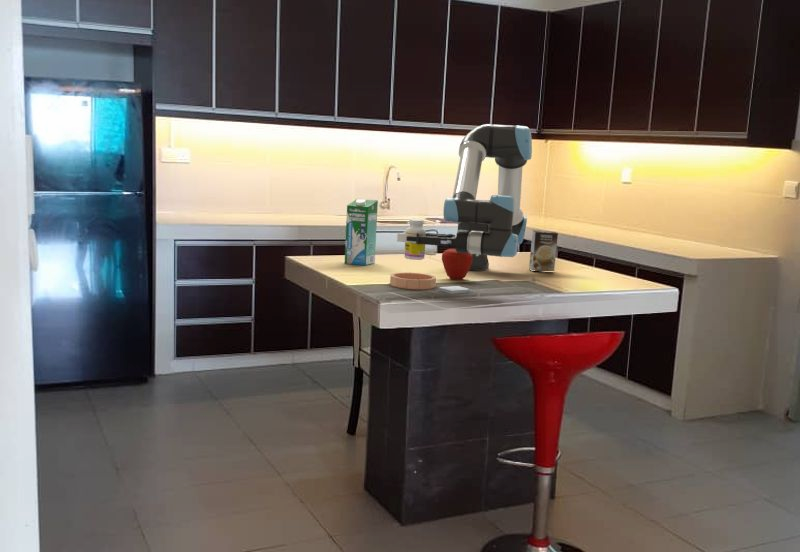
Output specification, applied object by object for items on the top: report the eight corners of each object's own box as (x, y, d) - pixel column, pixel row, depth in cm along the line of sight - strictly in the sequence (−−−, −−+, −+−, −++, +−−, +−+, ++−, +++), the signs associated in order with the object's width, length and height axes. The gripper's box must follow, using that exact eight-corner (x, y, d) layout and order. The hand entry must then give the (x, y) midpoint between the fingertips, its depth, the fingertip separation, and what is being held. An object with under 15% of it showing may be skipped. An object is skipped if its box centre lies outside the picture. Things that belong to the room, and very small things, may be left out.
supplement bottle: (403, 257, 258) (405, 218, 256) (423, 257, 258) (425, 219, 256) (405, 259, 251) (407, 220, 249) (425, 260, 252) (427, 221, 250)
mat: (461, 289, 256) (462, 288, 256) (477, 294, 248) (477, 293, 248) (431, 291, 250) (431, 289, 250) (445, 296, 242) (446, 294, 242)
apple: (435, 277, 278) (437, 244, 276) (461, 277, 282) (464, 244, 280) (449, 283, 268) (451, 248, 266) (476, 282, 272) (478, 248, 270)
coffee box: (531, 272, 306) (535, 231, 304) (528, 269, 312) (531, 230, 310) (554, 273, 306) (558, 233, 304) (551, 270, 313) (554, 231, 310)
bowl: (420, 282, 266) (421, 272, 266) (443, 290, 253) (444, 279, 253) (382, 283, 259) (382, 273, 258) (404, 291, 246) (404, 280, 246)
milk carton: (344, 263, 301) (347, 199, 297) (354, 260, 310) (357, 198, 306) (365, 265, 298) (368, 200, 294) (374, 263, 306) (378, 200, 302)
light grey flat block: (457, 288, 254) (457, 285, 254) (470, 292, 249) (470, 289, 249) (438, 290, 249) (438, 287, 249) (451, 293, 244) (451, 290, 244)
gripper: (462, 256, 240) (391, 250, 246) (473, 250, 259) (407, 244, 265) (464, 232, 239) (393, 227, 245) (475, 228, 258) (409, 223, 264)
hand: (400, 236), depth 255 cm, fingers closed on supplement bottle, 7 cm apart
